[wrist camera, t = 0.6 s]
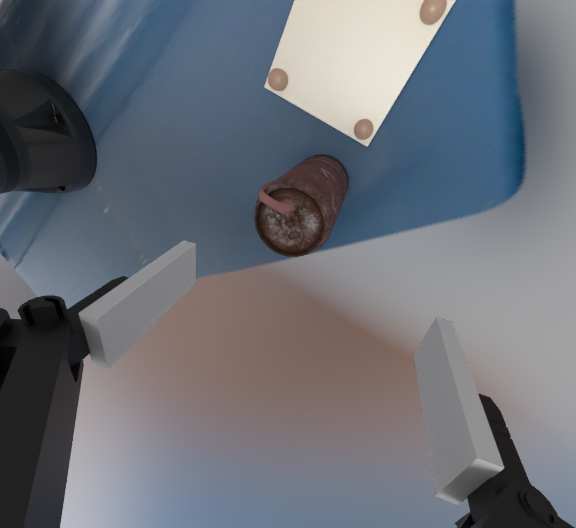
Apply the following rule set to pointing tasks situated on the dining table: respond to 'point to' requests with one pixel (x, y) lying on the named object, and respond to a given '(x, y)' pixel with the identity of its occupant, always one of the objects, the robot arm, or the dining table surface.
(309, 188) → the can
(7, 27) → the dining table surface
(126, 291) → the robot arm
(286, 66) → the stud plate
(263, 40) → the dining table surface
